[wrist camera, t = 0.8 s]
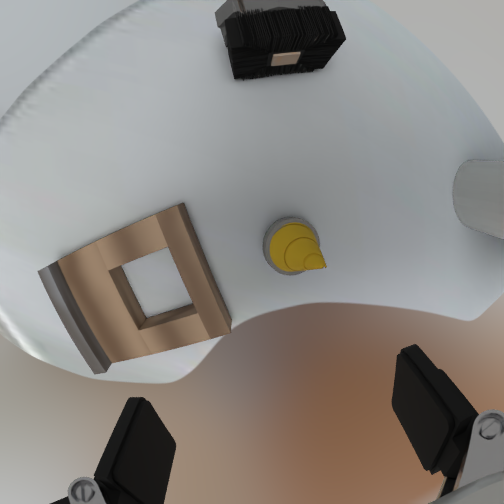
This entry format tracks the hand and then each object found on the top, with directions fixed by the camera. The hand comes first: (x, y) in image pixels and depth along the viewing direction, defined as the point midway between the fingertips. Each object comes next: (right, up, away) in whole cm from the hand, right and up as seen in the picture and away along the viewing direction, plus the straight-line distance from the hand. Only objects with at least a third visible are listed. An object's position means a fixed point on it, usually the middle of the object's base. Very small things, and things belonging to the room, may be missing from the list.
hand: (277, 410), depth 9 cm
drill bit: (+2, +7, +20) cm, 22 cm away
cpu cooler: (+1, +26, +15) cm, 30 cm away
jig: (-14, +1, +21) cm, 26 cm away
